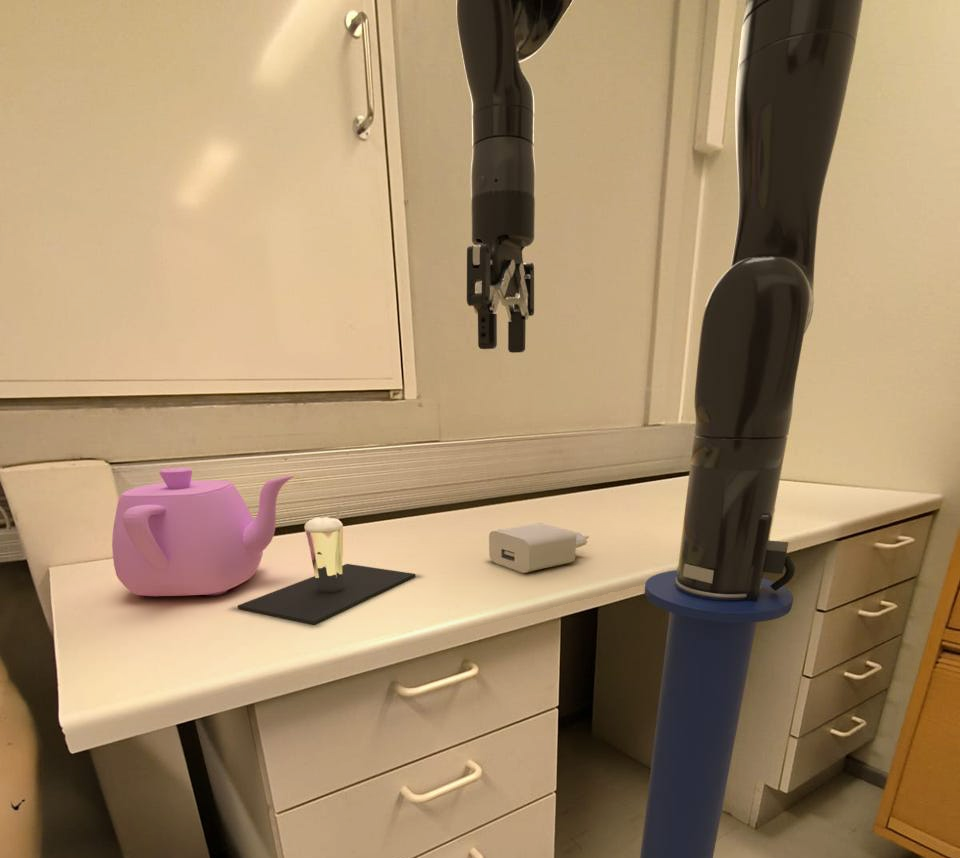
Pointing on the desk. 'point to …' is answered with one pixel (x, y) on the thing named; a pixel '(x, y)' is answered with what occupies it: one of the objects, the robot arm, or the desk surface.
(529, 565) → the charger
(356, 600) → the mat
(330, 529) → the milkshake
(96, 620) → the desk surface
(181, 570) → the teapot
